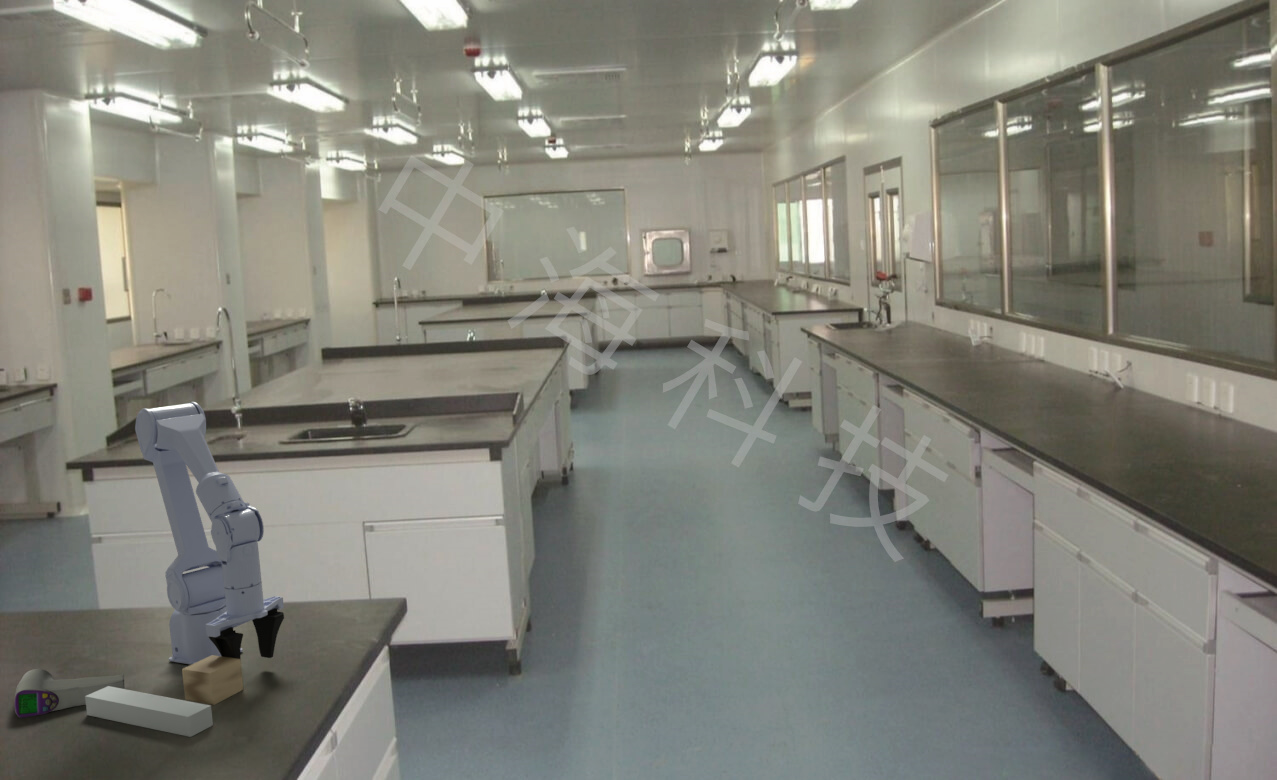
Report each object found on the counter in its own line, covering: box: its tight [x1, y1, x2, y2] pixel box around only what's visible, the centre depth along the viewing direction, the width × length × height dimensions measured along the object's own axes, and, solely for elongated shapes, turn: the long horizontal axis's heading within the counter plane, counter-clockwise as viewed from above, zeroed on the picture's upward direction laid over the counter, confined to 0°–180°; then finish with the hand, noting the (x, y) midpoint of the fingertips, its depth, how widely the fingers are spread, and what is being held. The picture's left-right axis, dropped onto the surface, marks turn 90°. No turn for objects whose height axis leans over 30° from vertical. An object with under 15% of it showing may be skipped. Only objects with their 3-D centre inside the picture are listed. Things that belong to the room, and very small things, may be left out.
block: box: [181, 655, 244, 706], centre depth 163 cm, size 6×6×5 cm
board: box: [85, 686, 214, 738], centre depth 155 cm, size 22×4×3 cm, turn 64°
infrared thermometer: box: [13, 668, 126, 718], centre depth 166 cm, size 5×12×15 cm
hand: (251, 664), depth 170 cm, fingers open, 6 cm apart
